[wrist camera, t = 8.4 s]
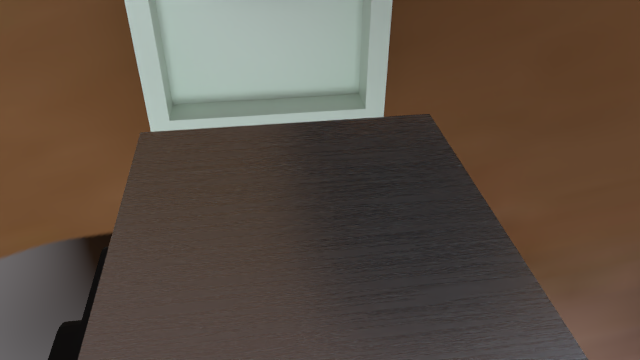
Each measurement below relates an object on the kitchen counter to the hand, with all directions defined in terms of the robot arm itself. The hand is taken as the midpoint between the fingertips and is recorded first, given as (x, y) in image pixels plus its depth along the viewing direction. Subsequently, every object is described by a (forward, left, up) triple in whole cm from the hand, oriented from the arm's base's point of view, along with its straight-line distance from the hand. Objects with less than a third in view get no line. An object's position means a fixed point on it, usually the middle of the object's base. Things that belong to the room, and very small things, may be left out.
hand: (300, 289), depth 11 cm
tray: (0, 0, -20) cm, 20 cm away
